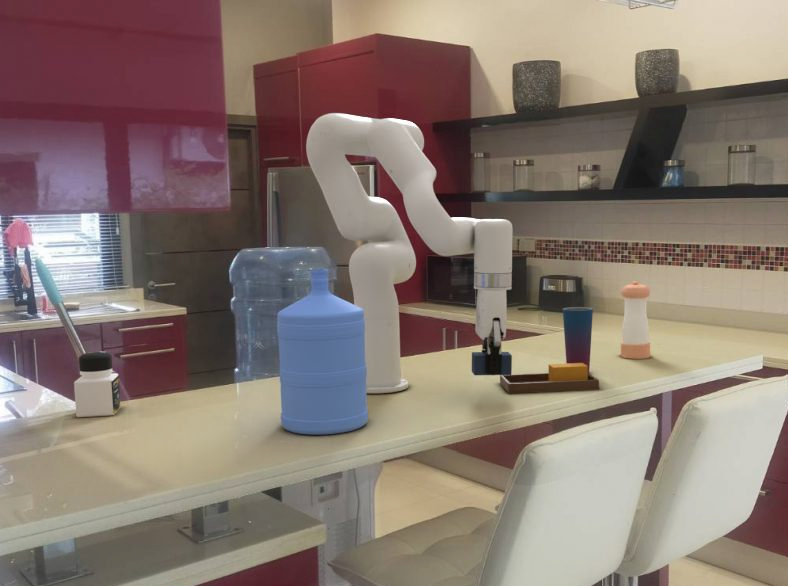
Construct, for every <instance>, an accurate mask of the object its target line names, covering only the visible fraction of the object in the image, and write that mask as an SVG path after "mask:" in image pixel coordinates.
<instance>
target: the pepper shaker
mask: <svg viewBox="0 0 788 586" xmlns="http://www.w3.org/2000/svg"><path fill="white" fill-rule="evenodd" d="M620 294H621V296H622V297H623V298H624V311H623V312H624V313H623V314H624V315H623V321H622V327H621V335H622V336H621V338H622V339H621V340H622V341H621V342H620V357H621V358H624V359H629V360H630V359H632V360H633V359H634V360H640V359H649V358H650V357H651V342H650V341H649V339H650V337H649V336H650V328H649V320H648V315H647V313H648V312H647V310H648V309H647V307H648V306H647V298H648V297H649V296H650V294H651V291H650V289H649V287H648V286H647V285H644V284H640V282H639V281H638V280H637V281H636V280H634V281H632V284H627V285H625V286H623V287H622V288H621V292H620Z"/></svg>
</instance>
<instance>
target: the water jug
mask: <svg viewBox="0 0 788 586" xmlns="http://www.w3.org/2000/svg"><path fill="white" fill-rule="evenodd" d="M309 273H310V278H311V279H310V287H311V289H310V292H309V294H308V295H306V296H304V297H303V298H301V299H299V300H297V301H296V302H294V303H291V304H289V305H288V306H286V307H284V308H283V309H280V310H279V311H278V312H277V314H276V315H277V316H276V318H277V322H276V334H277V338H278V339H277V340H278V341H277V343H278V357H279V383H280V408H281V409H280V410H281V411H280V412H281V413H280V424H281V426H282V427H283V428H284V429H285V430H286V431H288V432H291V433H293V434H294V433H295V434H298V435H299V434H300V435H308V436H309V435H311V436H324V435H337V434H343V433H348V432H352V431H355V430H359V429H360V428H362V427H363V426H365V425H366V424H367V423H368V420H369V409H368V399H367V398H368V396H367V395H368V393H366V377H367V368H366V363H365V319H364V311H363V309H362V308H360V307H358V306H356V305H354V303H352V302H349V301H348V300H345V299H343V298H340V297H338V296H336V295H335V294H332V292H330V289H329V282H330V281H329V278H328V273H329V270H328V269H316V270H315V269H314V270H309Z"/></svg>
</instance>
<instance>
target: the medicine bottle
mask: <svg viewBox="0 0 788 586" xmlns="http://www.w3.org/2000/svg"><path fill="white" fill-rule="evenodd" d="M112 358H113V357H112V354H111V353H109V352H107V351H91V352H85V353H82V354H81V355H79V357H78V366H79V367H78V368H79V375H80V377H79V378H77V379H76V380H75V381H74V382H73V389H74V402H75V414H76V415H75V416H76V417H77V418H90V417H91V418H93V417H106V416H109V417H110V416H115V414H116V413H118V411H119V410H120V409H121V407H122V406H121V405H122V403H121V391H120V375H119V373H115V372H113V371H114V370H113V359H112Z"/></svg>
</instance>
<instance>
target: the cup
mask: <svg viewBox="0 0 788 586" xmlns="http://www.w3.org/2000/svg"><path fill="white" fill-rule="evenodd" d="M593 312H594V308H593V307H588V306H587V307H585V306H572V307H571V306H570V307H564V308H562V321H563V333H564V335H563V336H564V345H565V346H564V350H565V364H568V363H583V364H585V365H587V366H588V373H589V374H590V368H591V367H590V366H591V365H590V364H591V350H592V349H591V348H592V346H591V345H592V332H593V314H594V313H593Z"/></svg>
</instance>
